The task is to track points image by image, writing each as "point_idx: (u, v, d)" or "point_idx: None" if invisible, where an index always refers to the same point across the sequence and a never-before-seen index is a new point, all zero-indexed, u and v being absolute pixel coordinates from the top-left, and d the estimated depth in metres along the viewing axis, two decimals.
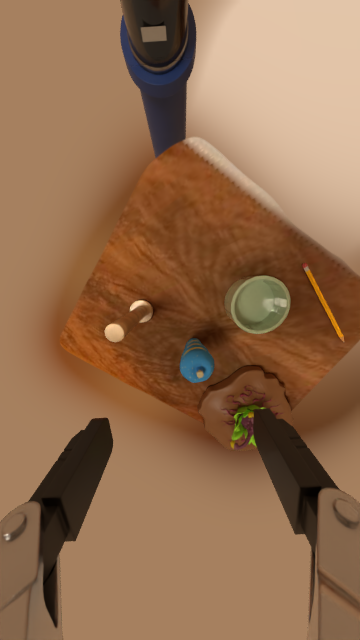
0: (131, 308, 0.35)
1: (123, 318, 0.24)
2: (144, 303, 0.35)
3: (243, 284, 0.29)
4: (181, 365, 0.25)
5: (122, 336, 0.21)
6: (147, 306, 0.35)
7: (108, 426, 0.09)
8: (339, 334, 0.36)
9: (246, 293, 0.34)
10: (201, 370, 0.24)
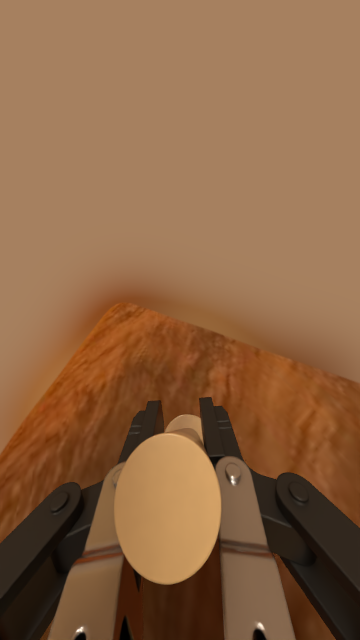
0: (190, 418, 0.17)
1: None
2: None
3: None
4: None
5: (150, 570, 0.03)
6: None
7: (161, 408, 0.10)
8: None
9: None
10: None
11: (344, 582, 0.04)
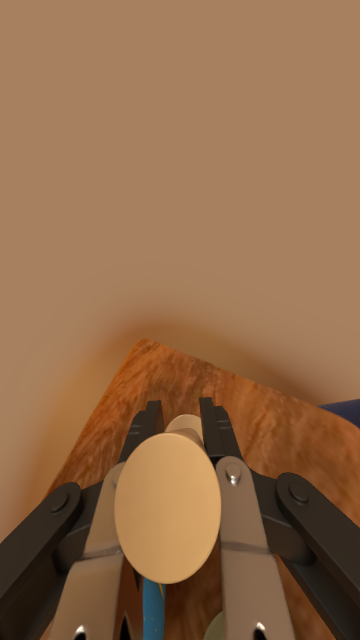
0: (190, 417, 0.17)
1: None
2: None
3: None
4: None
5: (150, 569, 0.03)
6: None
7: (161, 408, 0.10)
8: None
9: None
10: None
11: (344, 582, 0.04)
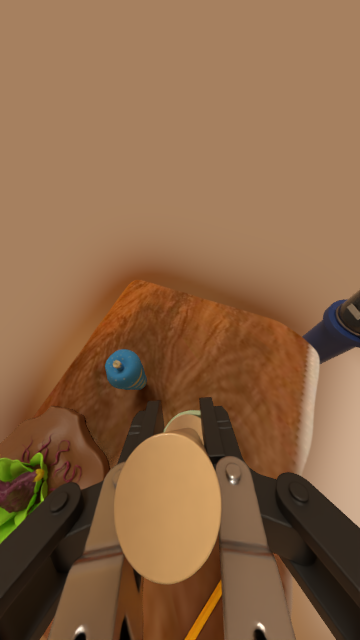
0: (190, 417, 0.17)
1: None
2: None
3: None
4: (124, 349, 0.25)
5: (150, 569, 0.03)
6: None
7: (161, 408, 0.10)
8: None
9: None
10: (120, 366, 0.22)
11: (344, 582, 0.04)
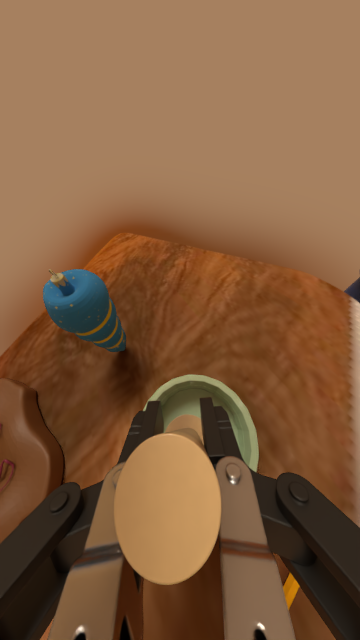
0: (190, 418, 0.17)
1: None
2: None
3: (226, 388, 0.17)
4: None
5: (150, 570, 0.03)
6: None
7: (161, 408, 0.10)
8: None
9: None
10: (65, 283, 0.13)
11: (344, 582, 0.04)
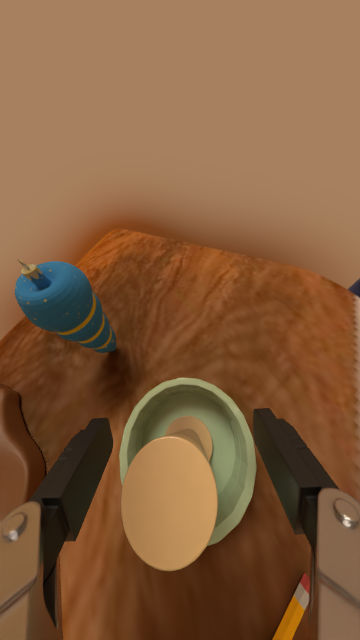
0: (190, 419, 0.17)
1: None
2: (207, 450, 0.16)
3: (221, 393, 0.15)
4: None
5: (154, 558, 0.04)
6: None
7: (108, 426, 0.09)
8: None
9: None
10: (39, 276, 0.11)
11: None
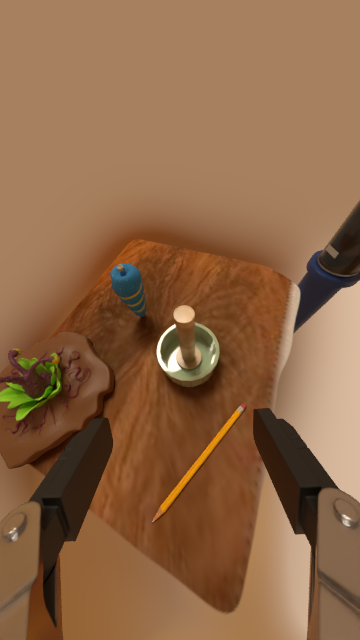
0: None
1: (194, 326, 0.22)
2: (198, 358, 0.31)
3: (204, 327, 0.30)
4: (126, 263, 0.29)
5: (181, 322, 0.19)
6: (195, 362, 0.31)
7: (108, 426, 0.09)
8: (164, 503, 0.22)
9: None
10: (123, 269, 0.27)
11: None
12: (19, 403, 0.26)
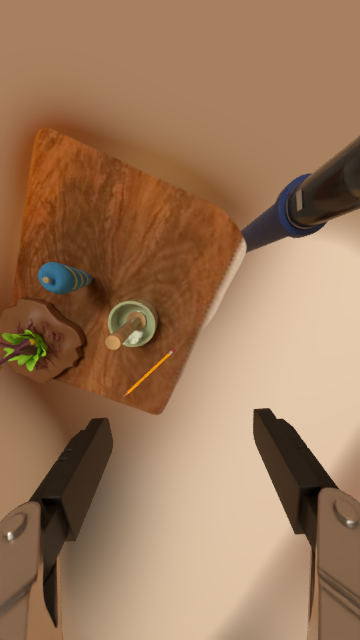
0: (136, 312, 0.40)
1: (126, 336, 0.30)
2: (143, 323, 0.41)
3: (144, 307, 0.37)
4: (50, 263, 0.27)
5: (111, 349, 0.28)
6: (141, 325, 0.41)
7: (108, 426, 0.09)
8: (129, 390, 0.46)
9: None
10: (50, 281, 0.27)
11: None
12: (25, 361, 0.39)
